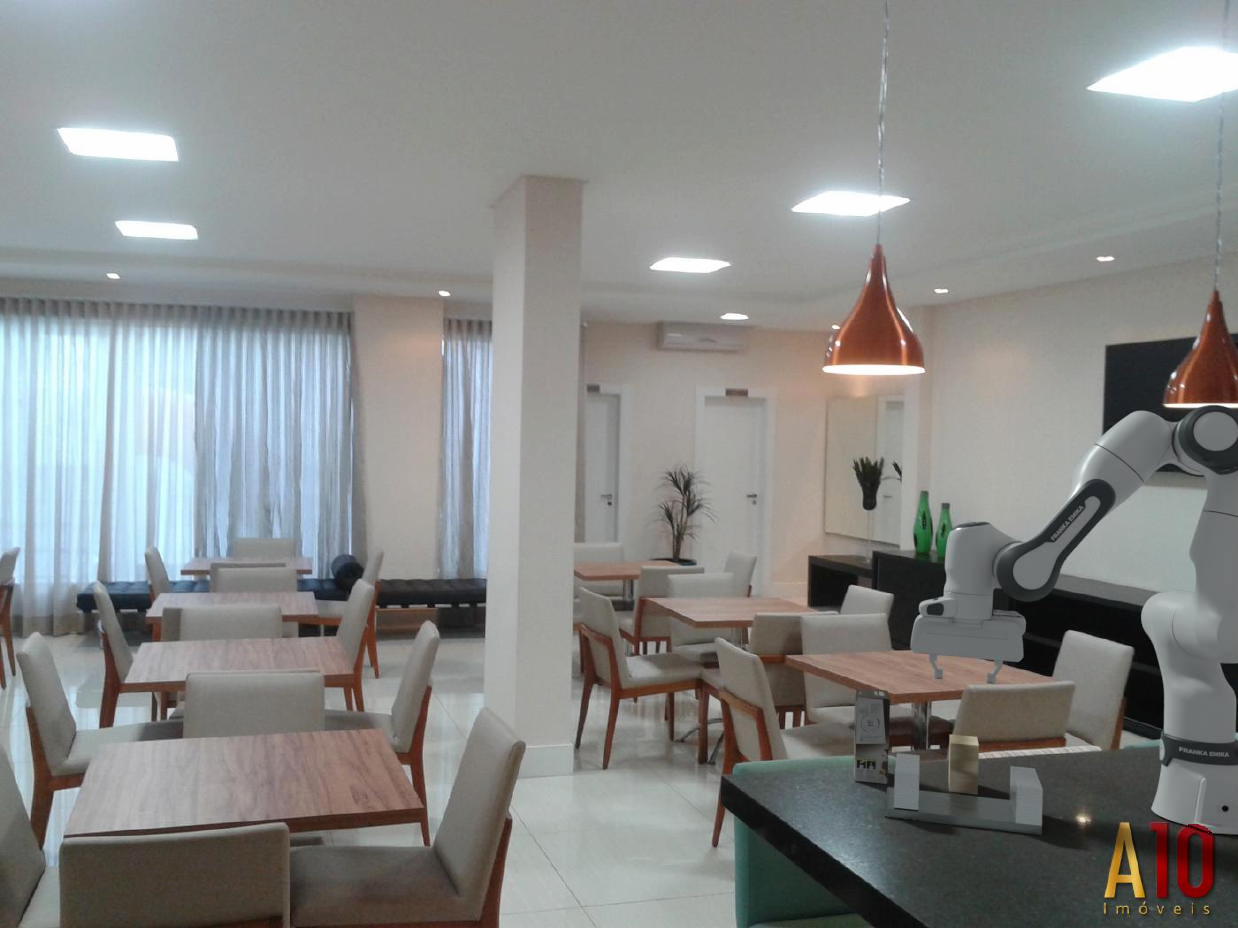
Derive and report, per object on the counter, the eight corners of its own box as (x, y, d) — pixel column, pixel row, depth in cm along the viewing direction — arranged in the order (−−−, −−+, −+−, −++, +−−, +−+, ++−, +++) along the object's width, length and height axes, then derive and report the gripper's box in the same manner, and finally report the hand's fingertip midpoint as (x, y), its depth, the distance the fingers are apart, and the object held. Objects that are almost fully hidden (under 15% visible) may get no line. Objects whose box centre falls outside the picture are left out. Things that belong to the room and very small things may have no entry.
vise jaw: (918, 788, 192) (919, 755, 192) (918, 809, 179) (919, 774, 179) (895, 786, 193) (896, 753, 193) (893, 807, 180) (894, 771, 180)
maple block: (975, 784, 202) (977, 736, 202) (977, 794, 195) (978, 745, 196) (948, 781, 204) (949, 734, 204) (949, 791, 197) (950, 742, 197)
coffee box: (888, 784, 200) (890, 698, 200) (853, 781, 201) (856, 696, 201) (886, 771, 209) (888, 689, 209) (852, 768, 210) (855, 687, 210)
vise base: (1033, 811, 186) (1034, 768, 186) (1041, 834, 174) (1042, 788, 174) (887, 795, 193) (888, 753, 193) (884, 816, 181) (885, 772, 181)
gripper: (1024, 609, 200) (1021, 683, 200) (912, 601, 206) (909, 673, 206) (1028, 613, 194) (1024, 689, 194) (912, 605, 200) (909, 678, 200)
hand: (964, 681), depth 200 cm, fingers open, 8 cm apart
